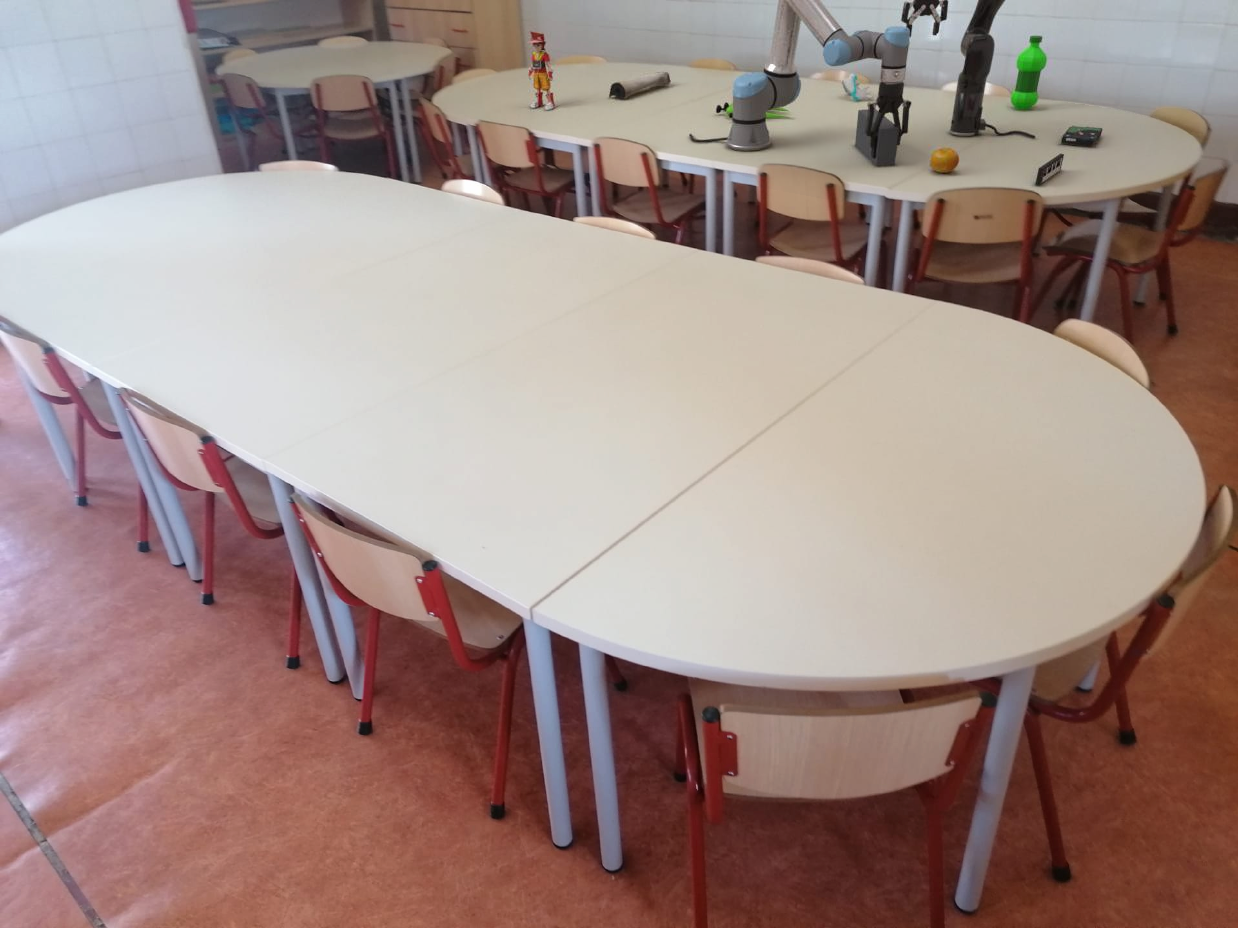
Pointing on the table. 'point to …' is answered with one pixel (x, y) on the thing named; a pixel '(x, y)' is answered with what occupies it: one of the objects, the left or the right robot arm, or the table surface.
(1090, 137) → the disk drive
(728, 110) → the toy
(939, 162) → the fruit
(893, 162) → the box
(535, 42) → the toy
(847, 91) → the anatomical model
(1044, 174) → the midi keyboard
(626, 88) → the rolled mat
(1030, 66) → the plastic bottle
